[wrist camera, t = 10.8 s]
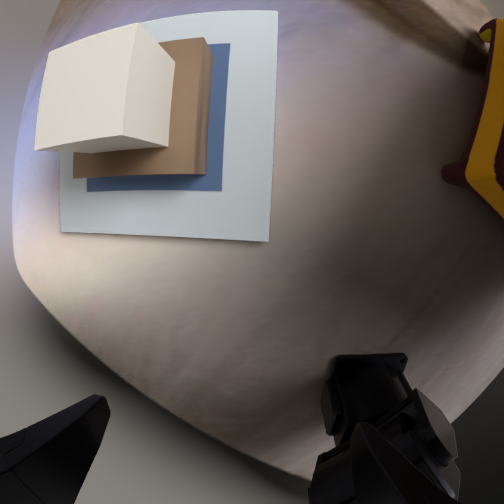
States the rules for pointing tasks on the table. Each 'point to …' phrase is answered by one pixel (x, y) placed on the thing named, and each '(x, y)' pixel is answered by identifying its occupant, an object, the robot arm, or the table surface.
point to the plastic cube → (106, 94)
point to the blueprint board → (240, 147)
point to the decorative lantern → (486, 131)
